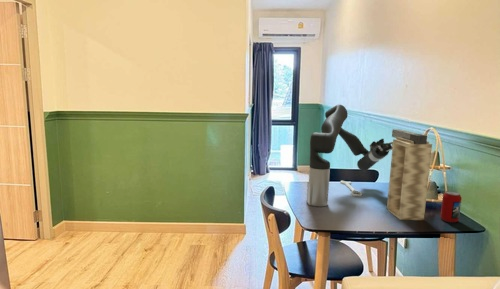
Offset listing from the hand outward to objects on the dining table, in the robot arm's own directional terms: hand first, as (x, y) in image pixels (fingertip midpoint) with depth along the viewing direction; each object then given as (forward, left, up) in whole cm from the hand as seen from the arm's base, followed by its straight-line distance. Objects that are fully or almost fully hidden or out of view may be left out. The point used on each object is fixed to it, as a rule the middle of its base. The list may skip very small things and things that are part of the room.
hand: (392, 140), depth 166 cm
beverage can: (+16, -25, -30) cm, 42 cm away
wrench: (-10, +22, -31) cm, 39 cm away
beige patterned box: (0, -18, -30) cm, 35 cm away
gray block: (0, -14, +2) cm, 14 cm away
